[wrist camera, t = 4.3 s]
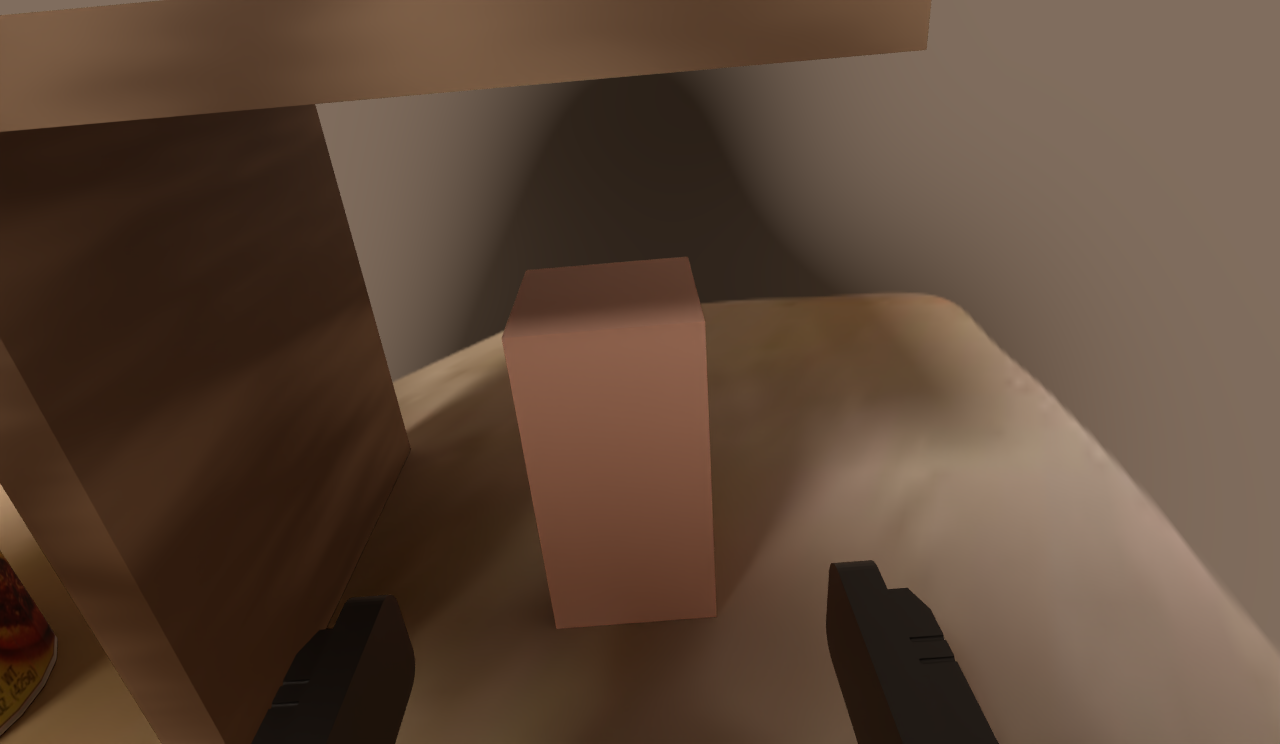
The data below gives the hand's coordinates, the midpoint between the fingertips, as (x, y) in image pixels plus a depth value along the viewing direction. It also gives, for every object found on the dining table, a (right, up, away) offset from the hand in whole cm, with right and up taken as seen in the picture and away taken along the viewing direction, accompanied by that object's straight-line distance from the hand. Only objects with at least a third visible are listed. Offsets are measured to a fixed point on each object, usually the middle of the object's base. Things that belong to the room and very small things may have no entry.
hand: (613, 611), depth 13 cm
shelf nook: (-3, -2, +12) cm, 12 cm away
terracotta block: (0, -2, +11) cm, 11 cm away
